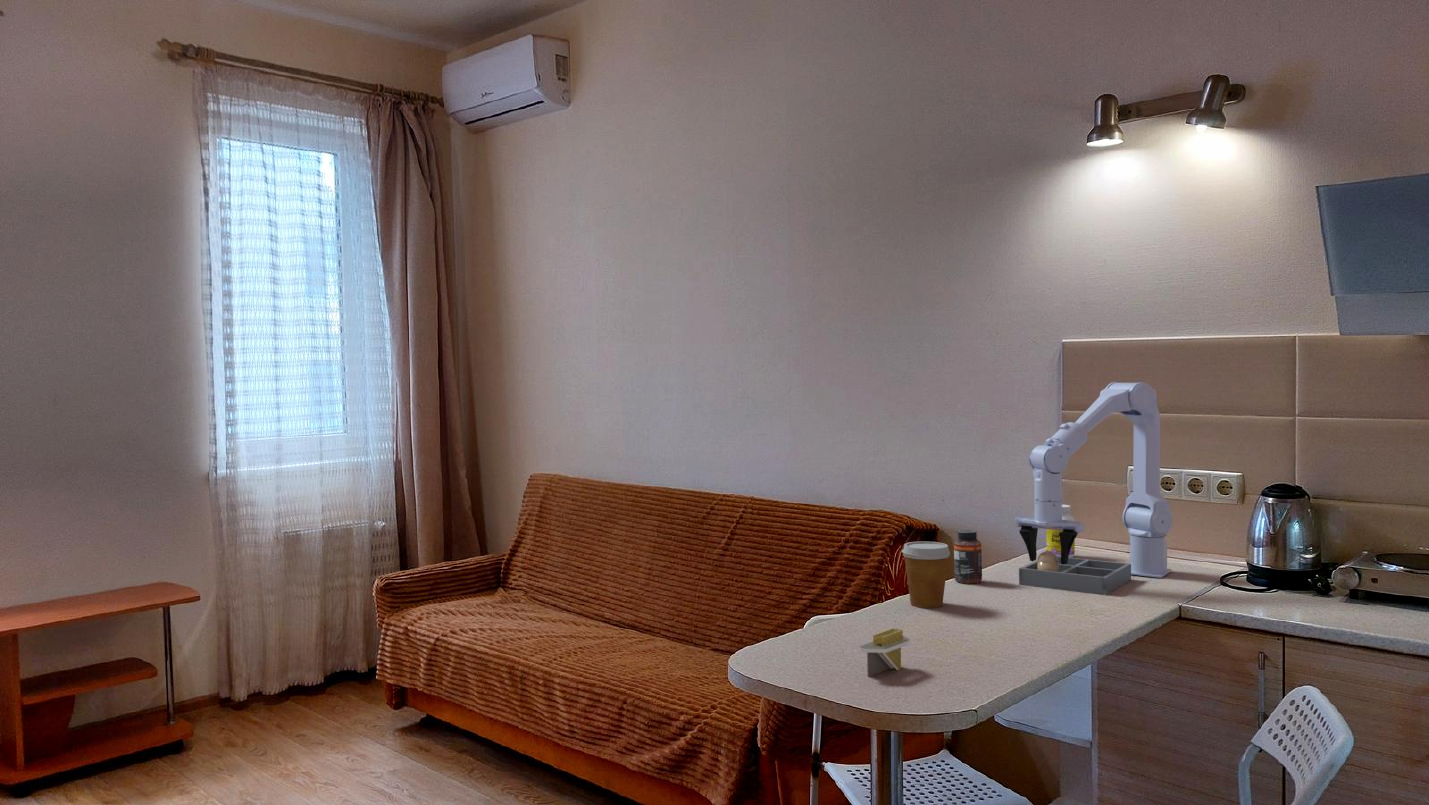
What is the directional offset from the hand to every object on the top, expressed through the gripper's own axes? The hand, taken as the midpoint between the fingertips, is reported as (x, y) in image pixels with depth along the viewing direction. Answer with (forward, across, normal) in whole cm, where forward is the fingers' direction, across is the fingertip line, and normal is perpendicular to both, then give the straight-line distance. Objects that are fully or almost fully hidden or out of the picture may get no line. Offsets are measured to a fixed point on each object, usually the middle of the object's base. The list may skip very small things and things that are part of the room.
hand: (1048, 562), depth 216 cm
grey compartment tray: (+5, +4, +4) cm, 8 cm away
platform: (+5, +2, -78) cm, 78 cm away
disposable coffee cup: (+5, -13, -33) cm, 36 cm away
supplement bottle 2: (+5, -8, +32) cm, 33 cm away
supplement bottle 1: (+5, -15, -8) cm, 18 cm away
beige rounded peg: (+3, 0, 0) cm, 3 cm away
